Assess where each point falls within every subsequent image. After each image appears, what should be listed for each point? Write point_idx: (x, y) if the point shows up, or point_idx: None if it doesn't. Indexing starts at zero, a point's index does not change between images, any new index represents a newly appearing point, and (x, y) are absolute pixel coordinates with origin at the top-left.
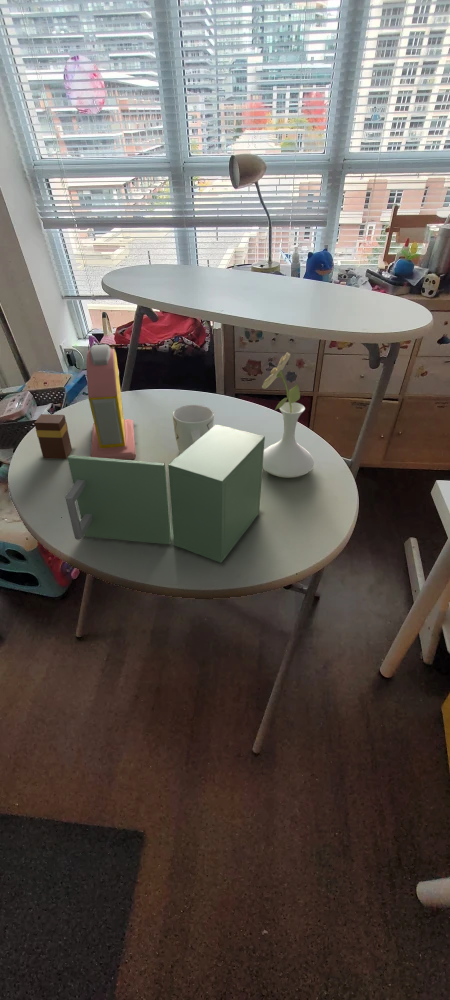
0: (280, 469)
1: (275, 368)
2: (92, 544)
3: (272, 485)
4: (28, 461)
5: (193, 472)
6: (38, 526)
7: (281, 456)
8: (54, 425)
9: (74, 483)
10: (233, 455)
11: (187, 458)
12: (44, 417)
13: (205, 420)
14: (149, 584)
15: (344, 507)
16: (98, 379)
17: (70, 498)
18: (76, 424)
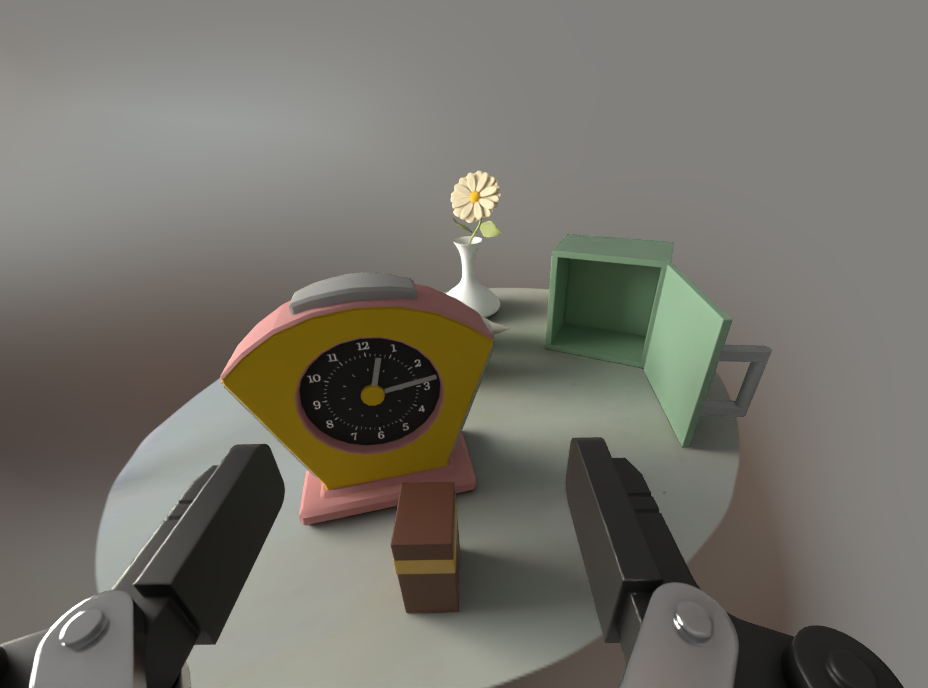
0: (496, 302)
1: (490, 187)
2: (697, 436)
3: (506, 319)
4: (475, 656)
5: (672, 251)
6: (710, 522)
7: (485, 293)
8: (454, 495)
9: (730, 350)
10: (619, 241)
11: (647, 255)
12: (416, 526)
13: (460, 300)
14: (720, 378)
15: (532, 290)
16: (456, 308)
17: (766, 347)
18: (262, 583)
